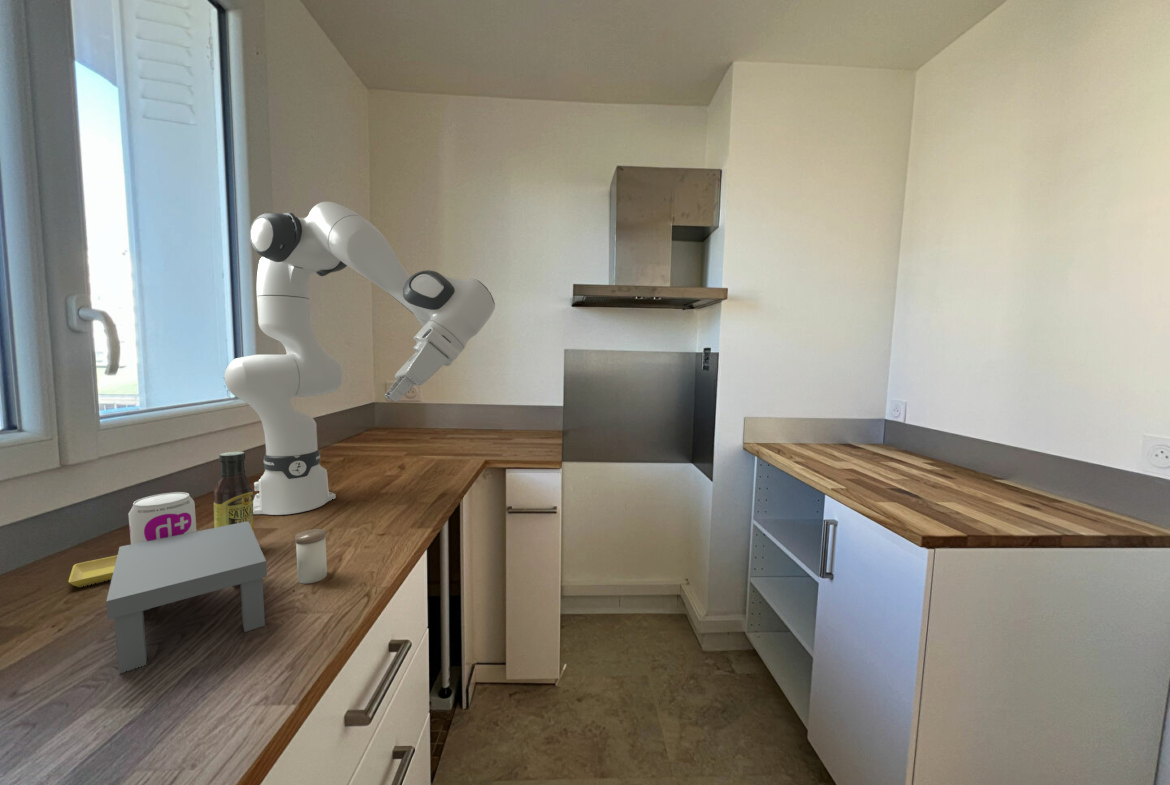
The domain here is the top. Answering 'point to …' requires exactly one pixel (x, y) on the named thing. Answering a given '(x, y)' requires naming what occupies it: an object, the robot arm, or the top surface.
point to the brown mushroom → (311, 555)
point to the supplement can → (161, 517)
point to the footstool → (182, 580)
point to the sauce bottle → (233, 492)
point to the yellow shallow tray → (92, 571)
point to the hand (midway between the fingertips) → (389, 399)
